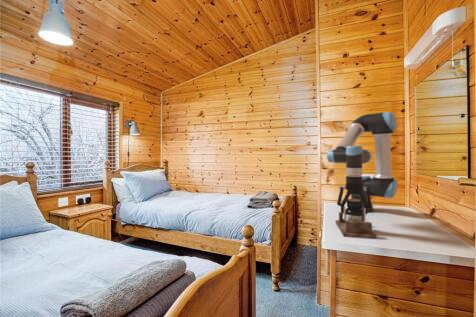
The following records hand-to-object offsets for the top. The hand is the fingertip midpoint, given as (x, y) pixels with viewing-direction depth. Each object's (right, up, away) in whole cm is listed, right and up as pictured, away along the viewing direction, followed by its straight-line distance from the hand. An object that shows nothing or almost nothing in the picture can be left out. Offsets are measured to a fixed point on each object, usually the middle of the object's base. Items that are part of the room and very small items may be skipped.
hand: (353, 219), depth 120 cm
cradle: (0, -5, 0) cm, 5 cm away
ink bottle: (0, -2, 0) cm, 2 cm away
